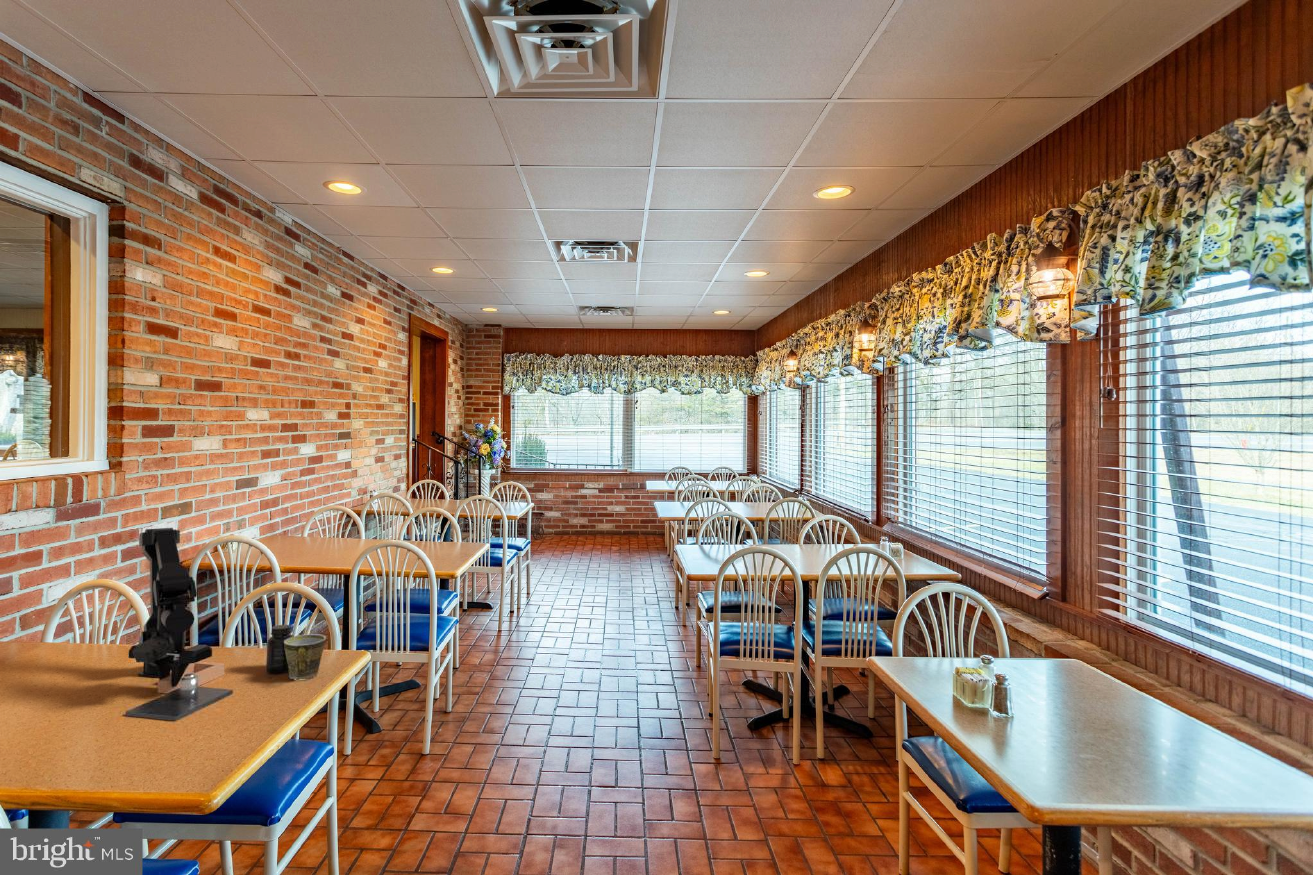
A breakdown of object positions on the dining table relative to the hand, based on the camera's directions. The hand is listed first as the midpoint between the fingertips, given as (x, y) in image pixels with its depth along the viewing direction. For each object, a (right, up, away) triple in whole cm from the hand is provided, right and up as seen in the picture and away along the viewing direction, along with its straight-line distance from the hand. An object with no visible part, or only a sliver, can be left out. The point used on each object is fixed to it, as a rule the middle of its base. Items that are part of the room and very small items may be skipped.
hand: (169, 685), depth 160 cm
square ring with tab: (+1, -1, +5) cm, 5 cm away
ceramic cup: (+28, -2, +11) cm, 30 cm away
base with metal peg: (+9, -1, -8) cm, 12 cm away
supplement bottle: (+18, -2, +16) cm, 24 cm away
